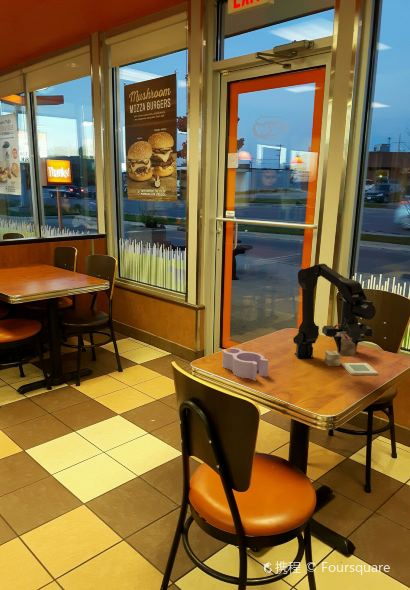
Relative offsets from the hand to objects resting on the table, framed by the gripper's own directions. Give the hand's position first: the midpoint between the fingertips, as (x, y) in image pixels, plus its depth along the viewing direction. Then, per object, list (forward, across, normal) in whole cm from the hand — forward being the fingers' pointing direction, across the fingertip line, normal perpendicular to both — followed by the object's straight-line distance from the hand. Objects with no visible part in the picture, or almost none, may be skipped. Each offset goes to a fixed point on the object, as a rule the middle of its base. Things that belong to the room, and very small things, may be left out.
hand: (345, 351), depth 178 cm
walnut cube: (+1, 0, 0) cm, 1 cm away
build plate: (+10, +9, +6) cm, 15 cm away
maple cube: (+10, 0, +13) cm, 17 cm away
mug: (+10, +12, +30) cm, 34 cm away
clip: (+10, -40, +5) cm, 41 cm away
